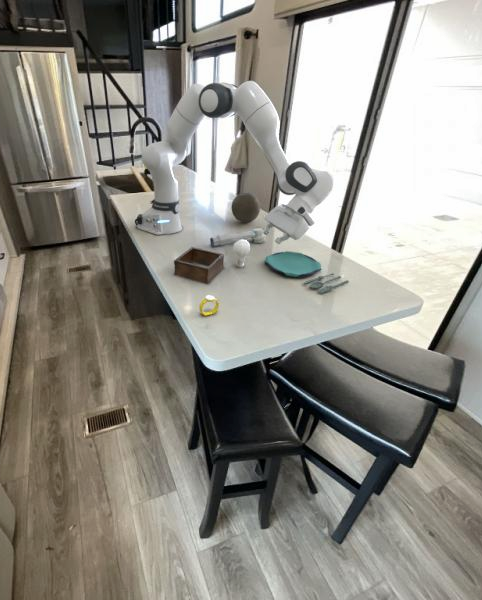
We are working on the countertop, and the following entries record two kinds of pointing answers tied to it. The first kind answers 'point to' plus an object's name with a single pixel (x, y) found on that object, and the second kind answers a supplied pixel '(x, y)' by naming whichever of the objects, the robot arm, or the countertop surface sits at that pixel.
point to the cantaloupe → (245, 207)
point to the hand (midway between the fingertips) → (270, 238)
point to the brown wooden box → (196, 271)
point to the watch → (209, 299)
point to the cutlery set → (299, 268)
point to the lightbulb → (241, 251)
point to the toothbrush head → (239, 237)
